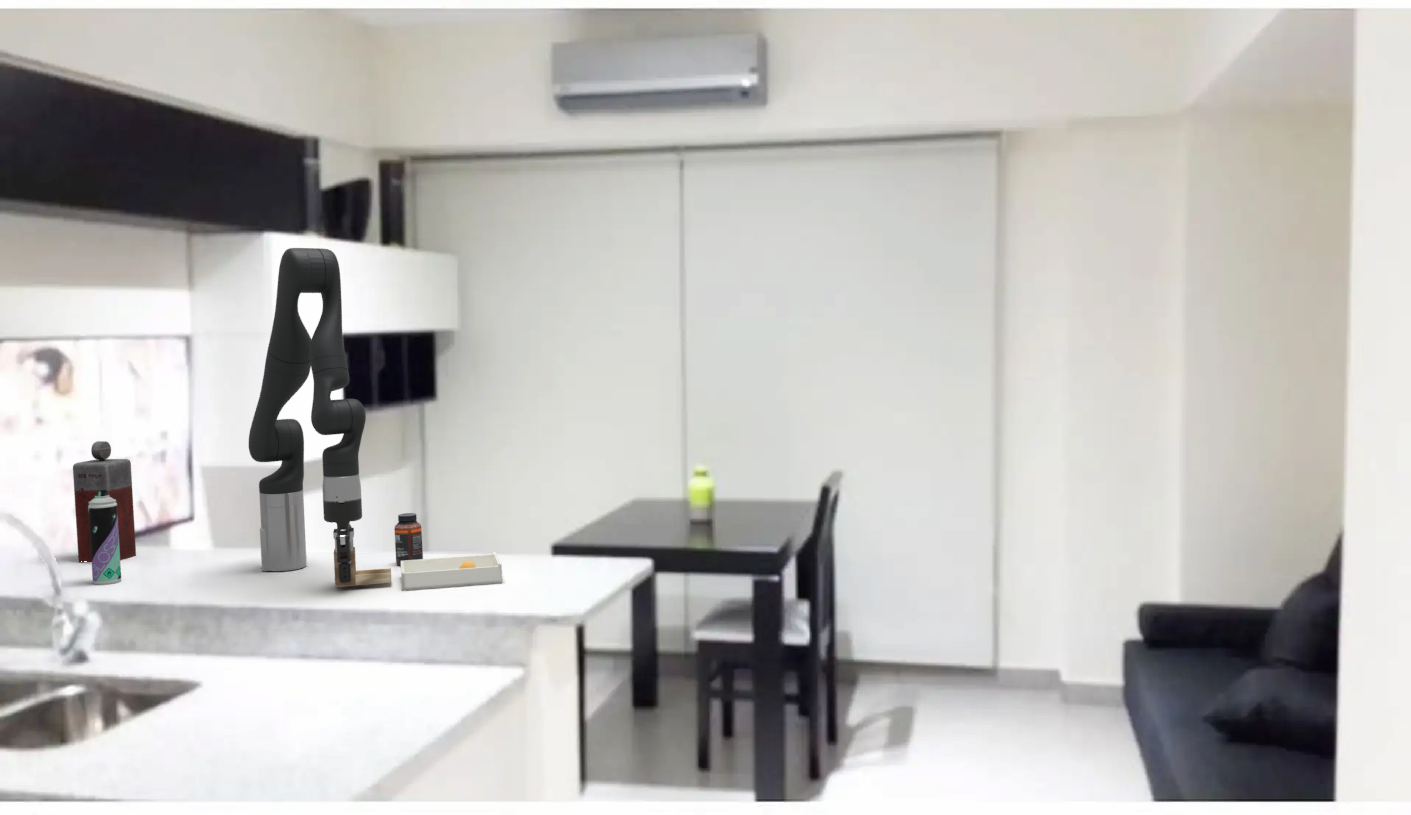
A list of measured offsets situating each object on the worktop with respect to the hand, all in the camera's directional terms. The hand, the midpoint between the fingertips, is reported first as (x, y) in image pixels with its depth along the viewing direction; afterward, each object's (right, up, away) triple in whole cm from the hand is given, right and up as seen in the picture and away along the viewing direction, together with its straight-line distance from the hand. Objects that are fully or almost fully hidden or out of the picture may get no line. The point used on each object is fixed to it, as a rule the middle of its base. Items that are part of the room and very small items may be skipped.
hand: (345, 578), depth 245 cm
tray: (+20, -1, +5) cm, 21 cm away
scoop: (+3, -1, +1) cm, 4 cm away
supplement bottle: (+7, 0, +24) cm, 25 cm away
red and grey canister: (-69, -1, +39) cm, 79 cm away
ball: (+24, +1, +5) cm, 25 cm away
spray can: (-55, -2, +11) cm, 56 cm away
